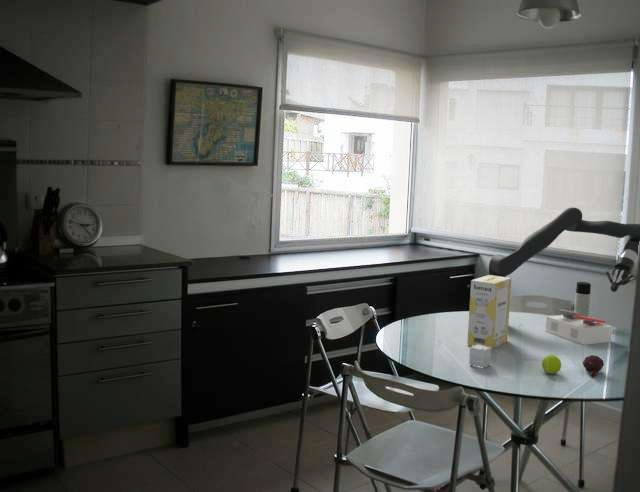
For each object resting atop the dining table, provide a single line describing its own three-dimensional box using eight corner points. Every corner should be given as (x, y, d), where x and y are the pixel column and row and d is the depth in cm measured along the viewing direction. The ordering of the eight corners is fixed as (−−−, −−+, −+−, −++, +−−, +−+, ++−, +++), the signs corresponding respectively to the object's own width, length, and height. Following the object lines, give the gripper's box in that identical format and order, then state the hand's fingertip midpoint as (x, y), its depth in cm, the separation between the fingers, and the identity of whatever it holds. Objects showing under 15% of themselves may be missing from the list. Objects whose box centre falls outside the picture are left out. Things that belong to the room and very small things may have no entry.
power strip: (583, 344, 313) (584, 326, 312) (545, 331, 334) (546, 313, 333) (611, 341, 319) (612, 323, 318) (572, 328, 341) (573, 311, 340)
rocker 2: (581, 320, 315) (582, 316, 315) (572, 317, 320) (573, 313, 319) (604, 324, 321) (605, 321, 321) (595, 321, 325) (596, 318, 325)
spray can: (585, 321, 355) (589, 281, 353) (589, 325, 349) (592, 284, 346) (571, 321, 356) (575, 281, 353) (575, 324, 349) (578, 283, 347)
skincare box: (476, 362, 283) (477, 344, 282) (490, 365, 279) (491, 347, 278) (468, 365, 278) (469, 347, 277) (483, 369, 274) (484, 350, 273)
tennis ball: (556, 370, 275) (558, 353, 274) (563, 376, 268) (564, 358, 267) (538, 370, 274) (539, 352, 273) (544, 376, 267) (546, 358, 266)
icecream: (583, 349, 281) (579, 363, 268) (603, 348, 278) (600, 361, 265) (586, 366, 282) (583, 380, 269) (606, 365, 279) (604, 379, 266)
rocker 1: (561, 313, 326) (562, 310, 326) (553, 311, 331) (554, 307, 331) (584, 317, 332) (584, 314, 332) (576, 315, 337) (576, 312, 337)
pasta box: (490, 349, 301) (494, 283, 297) (467, 345, 307) (471, 280, 303) (507, 341, 315) (511, 277, 312) (484, 336, 322) (488, 274, 318)
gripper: (642, 268, 332) (629, 298, 325) (614, 264, 342) (600, 293, 335) (639, 258, 328) (625, 287, 321) (610, 254, 337) (596, 283, 330)
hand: (612, 290), depth 328 cm, fingers closed
